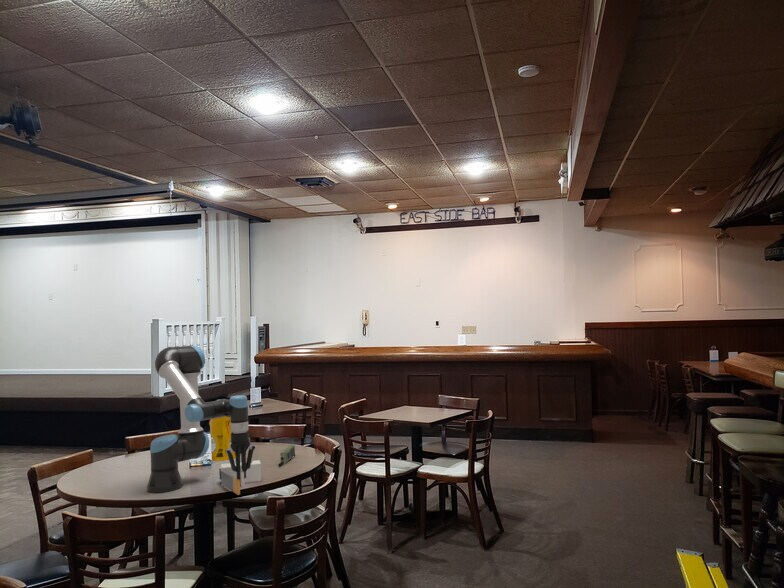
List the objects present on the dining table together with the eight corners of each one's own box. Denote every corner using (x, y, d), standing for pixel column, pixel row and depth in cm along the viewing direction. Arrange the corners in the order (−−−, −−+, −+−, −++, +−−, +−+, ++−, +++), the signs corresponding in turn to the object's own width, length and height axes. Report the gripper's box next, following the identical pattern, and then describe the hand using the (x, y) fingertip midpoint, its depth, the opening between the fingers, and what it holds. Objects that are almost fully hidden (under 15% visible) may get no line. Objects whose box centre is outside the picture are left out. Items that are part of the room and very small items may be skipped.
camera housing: (219, 485, 265) (219, 466, 265) (219, 481, 273) (219, 463, 273) (261, 480, 270) (260, 462, 271) (260, 476, 278) (259, 458, 278)
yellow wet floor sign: (218, 463, 310) (217, 411, 311) (197, 457, 327) (196, 408, 329) (247, 457, 322) (245, 407, 324) (225, 452, 339) (224, 404, 341)
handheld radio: (296, 456, 321) (282, 467, 296) (290, 456, 321) (276, 467, 296) (295, 444, 321) (281, 454, 296) (289, 444, 322) (275, 454, 297)
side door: (221, 484, 264) (220, 470, 264) (223, 483, 265) (222, 470, 265) (237, 494, 245) (237, 480, 245) (240, 494, 246) (239, 480, 246)
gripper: (228, 435, 243) (230, 491, 242) (257, 430, 251) (259, 485, 250) (222, 432, 249) (224, 487, 248) (250, 428, 257) (252, 481, 256)
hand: (241, 486), depth 249 cm, fingers closed
